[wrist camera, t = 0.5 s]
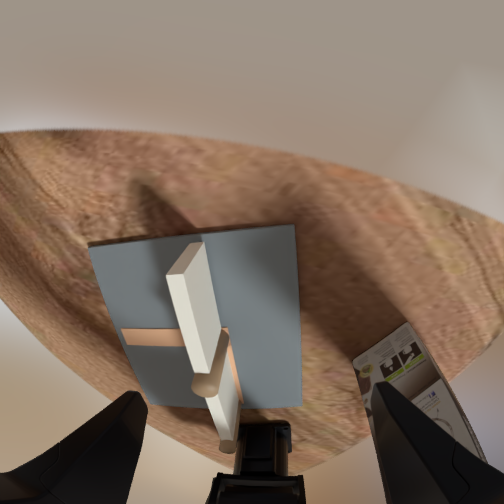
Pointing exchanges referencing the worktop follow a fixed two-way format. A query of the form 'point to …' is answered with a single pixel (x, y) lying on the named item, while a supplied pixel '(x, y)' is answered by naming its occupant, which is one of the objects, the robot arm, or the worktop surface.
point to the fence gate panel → (195, 305)
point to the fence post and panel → (221, 395)
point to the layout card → (228, 305)
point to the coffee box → (413, 386)
